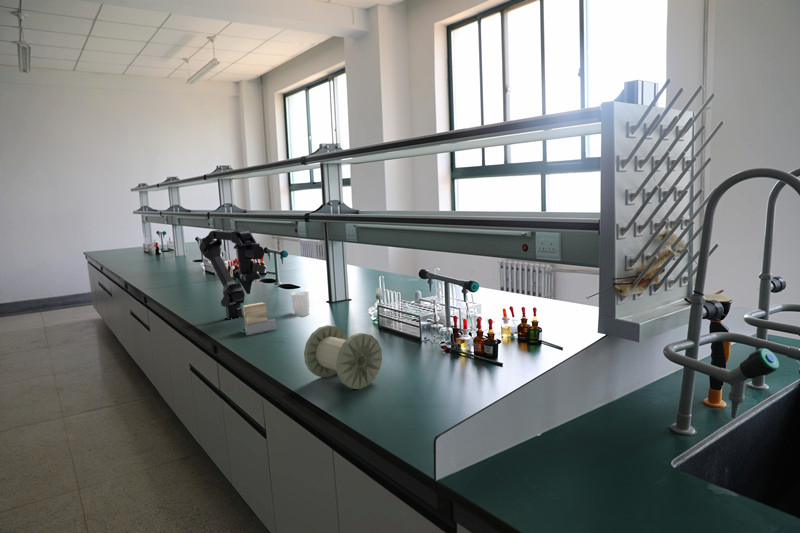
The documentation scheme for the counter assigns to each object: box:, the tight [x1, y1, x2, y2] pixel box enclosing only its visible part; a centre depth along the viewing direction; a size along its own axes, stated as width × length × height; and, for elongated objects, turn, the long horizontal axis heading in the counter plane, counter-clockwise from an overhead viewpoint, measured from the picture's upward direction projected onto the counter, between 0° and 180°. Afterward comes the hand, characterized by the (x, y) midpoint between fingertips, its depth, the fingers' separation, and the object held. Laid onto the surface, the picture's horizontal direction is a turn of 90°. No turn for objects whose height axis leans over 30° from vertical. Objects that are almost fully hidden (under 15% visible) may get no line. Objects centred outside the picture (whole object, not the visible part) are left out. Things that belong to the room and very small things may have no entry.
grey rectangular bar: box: [244, 318, 278, 336], centre depth 205 cm, size 2×12×4 cm, turn 123°
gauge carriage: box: [241, 302, 268, 332], centre depth 209 cm, size 4×10×10 cm, turn 123°
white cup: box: [290, 291, 310, 318], centre depth 234 cm, size 8×8×10 cm
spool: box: [303, 324, 383, 390], centre depth 148 cm, size 16×15×15 cm
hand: (248, 294), depth 228 cm, fingers closed
